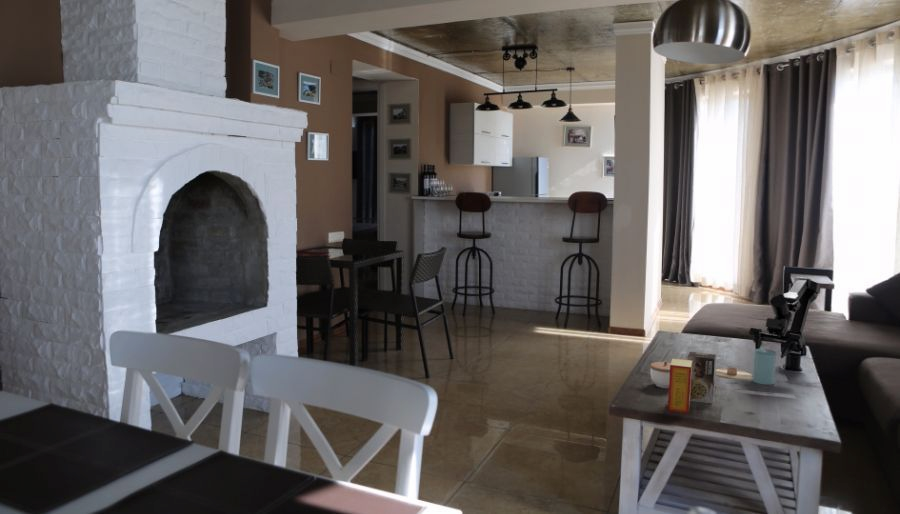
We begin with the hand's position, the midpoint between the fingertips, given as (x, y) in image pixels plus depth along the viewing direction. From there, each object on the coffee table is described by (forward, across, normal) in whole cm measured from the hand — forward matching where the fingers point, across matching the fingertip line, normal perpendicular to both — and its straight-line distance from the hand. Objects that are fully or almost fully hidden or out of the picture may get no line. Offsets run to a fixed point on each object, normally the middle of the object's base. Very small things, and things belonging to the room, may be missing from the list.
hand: (768, 355), depth 265 cm
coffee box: (+36, -9, -20) cm, 42 cm away
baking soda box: (+46, -10, -30) cm, 55 cm away
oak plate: (+9, -12, +6) cm, 17 cm away
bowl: (+8, -12, +5) cm, 16 cm away
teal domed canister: (+10, 0, +5) cm, 11 cm away
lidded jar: (+31, -25, -15) cm, 43 cm away
